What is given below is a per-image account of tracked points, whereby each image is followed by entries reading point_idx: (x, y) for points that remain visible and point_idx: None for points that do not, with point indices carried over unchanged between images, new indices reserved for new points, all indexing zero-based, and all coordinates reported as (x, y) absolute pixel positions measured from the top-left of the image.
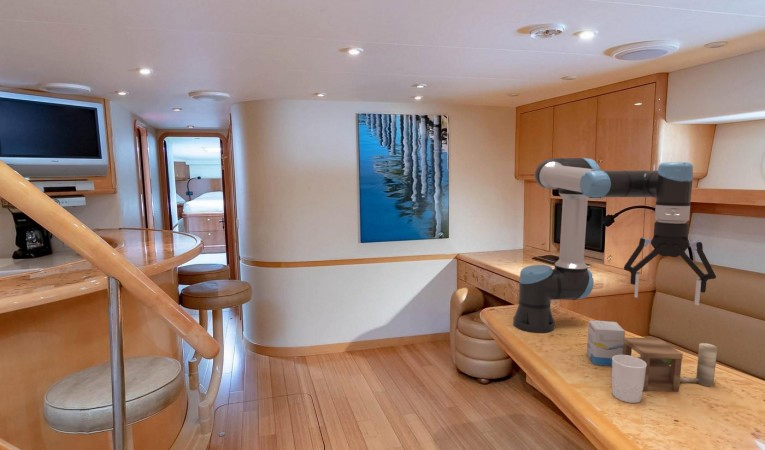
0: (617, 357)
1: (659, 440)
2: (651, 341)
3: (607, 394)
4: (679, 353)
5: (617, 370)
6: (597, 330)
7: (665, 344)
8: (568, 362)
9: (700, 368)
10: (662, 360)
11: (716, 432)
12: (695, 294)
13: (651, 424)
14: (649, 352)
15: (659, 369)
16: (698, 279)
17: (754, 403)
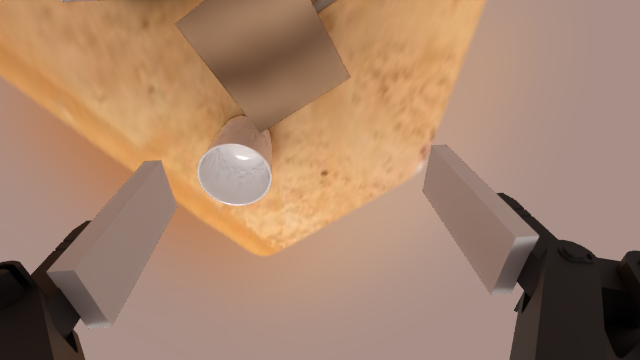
0: (205, 156)
1: (304, 231)
2: (263, 8)
3: None
4: (342, 80)
5: (221, 189)
6: (68, 1)
7: (306, 14)
8: (73, 28)
9: None
10: None
11: (374, 175)
12: (449, 185)
13: (293, 202)
14: (269, 120)
15: None
16: (511, 268)
17: (472, 19)
